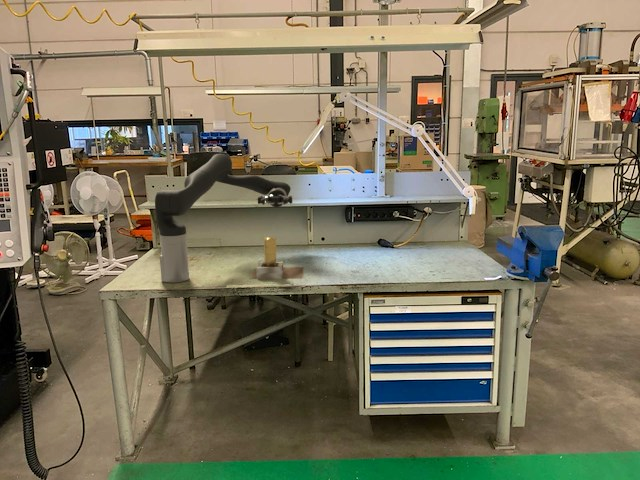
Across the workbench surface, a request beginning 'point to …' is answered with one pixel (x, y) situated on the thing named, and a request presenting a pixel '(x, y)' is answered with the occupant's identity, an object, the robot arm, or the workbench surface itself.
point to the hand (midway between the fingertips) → (273, 201)
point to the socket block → (277, 272)
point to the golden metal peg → (270, 252)
